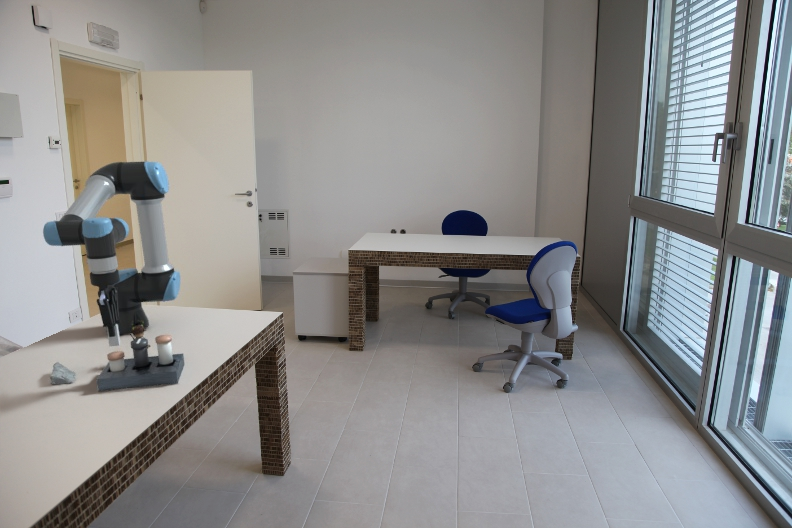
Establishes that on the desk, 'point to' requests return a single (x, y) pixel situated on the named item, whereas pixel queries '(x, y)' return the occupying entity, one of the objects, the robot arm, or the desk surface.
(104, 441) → the desk surface
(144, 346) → the dial
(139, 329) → the toy
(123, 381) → the mount
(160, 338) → the knob
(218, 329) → the desk surface
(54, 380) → the mineral specimen
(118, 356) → the knob
